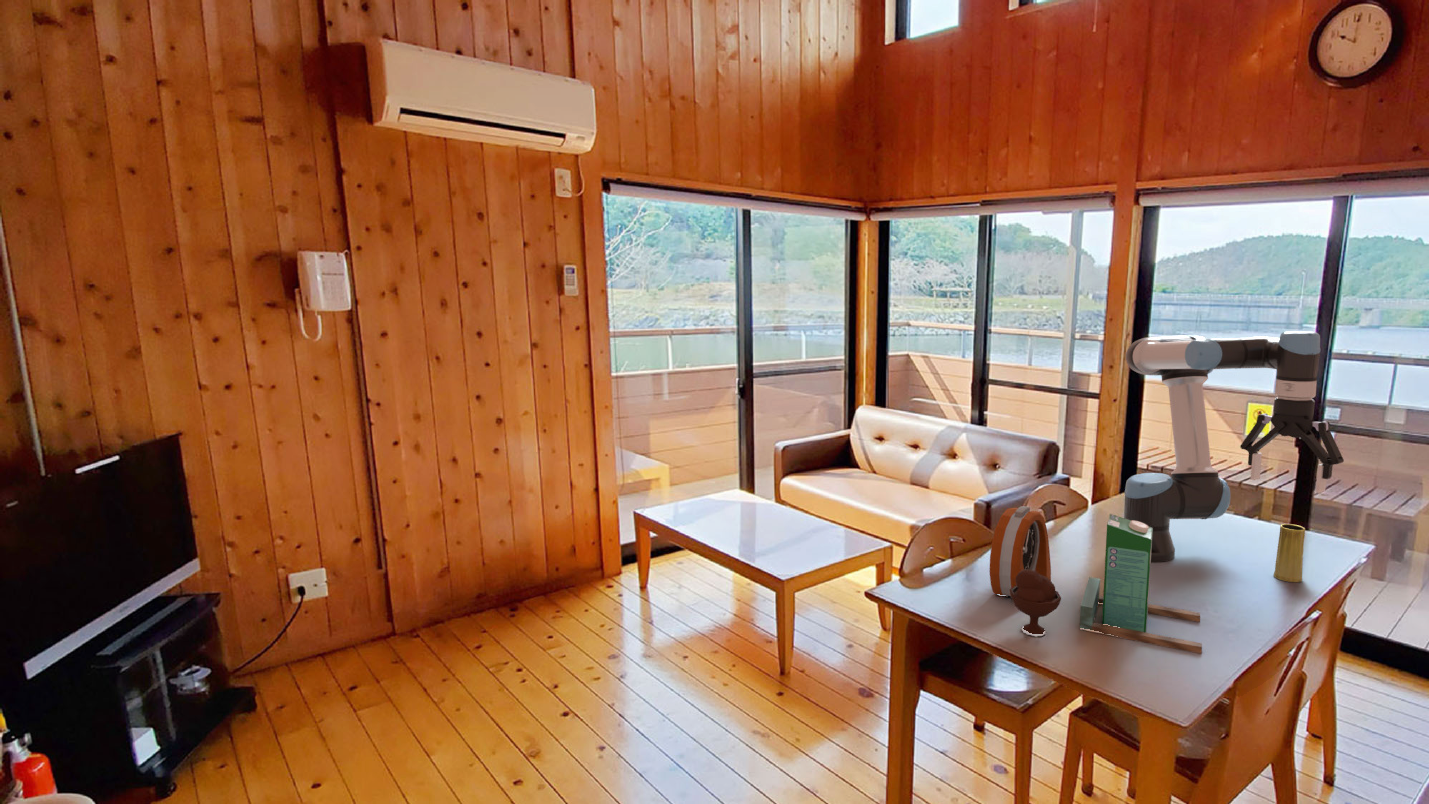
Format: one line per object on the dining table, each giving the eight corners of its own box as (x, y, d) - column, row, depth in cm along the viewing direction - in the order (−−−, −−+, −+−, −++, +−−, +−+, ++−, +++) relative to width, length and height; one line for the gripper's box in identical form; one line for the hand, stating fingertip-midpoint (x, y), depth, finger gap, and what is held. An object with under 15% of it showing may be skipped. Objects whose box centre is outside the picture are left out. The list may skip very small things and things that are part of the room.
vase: (1307, 583, 194) (1312, 531, 191) (1280, 582, 195) (1285, 530, 193) (1294, 574, 200) (1299, 523, 197) (1268, 573, 201) (1273, 522, 199)
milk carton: (1145, 633, 170) (1152, 529, 166) (1101, 624, 175) (1106, 523, 171) (1147, 617, 178) (1153, 518, 174) (1105, 610, 183) (1110, 513, 179)
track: (1199, 618, 176) (1201, 595, 175) (1201, 653, 161) (1203, 627, 160) (1087, 599, 189) (1088, 577, 188) (1079, 629, 173) (1080, 605, 172)
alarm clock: (1026, 609, 185) (1029, 522, 181) (987, 599, 191) (989, 515, 188) (1056, 581, 201) (1059, 501, 197) (1019, 572, 207) (1022, 495, 204)
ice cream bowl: (1035, 646, 166) (1037, 583, 164) (998, 626, 176) (1000, 566, 174) (1069, 636, 170) (1072, 574, 168) (1031, 617, 180) (1033, 558, 178)
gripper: (1228, 393, 182) (1222, 476, 186) (1351, 406, 161) (1342, 500, 164) (1245, 390, 186) (1238, 472, 189) (1368, 402, 164) (1358, 494, 167)
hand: (1286, 485), depth 177 cm, fingers open, 13 cm apart
